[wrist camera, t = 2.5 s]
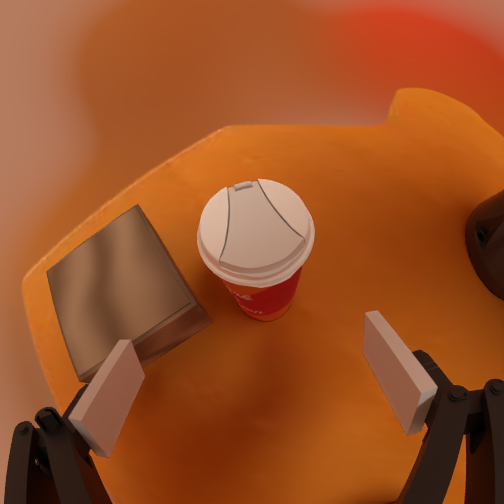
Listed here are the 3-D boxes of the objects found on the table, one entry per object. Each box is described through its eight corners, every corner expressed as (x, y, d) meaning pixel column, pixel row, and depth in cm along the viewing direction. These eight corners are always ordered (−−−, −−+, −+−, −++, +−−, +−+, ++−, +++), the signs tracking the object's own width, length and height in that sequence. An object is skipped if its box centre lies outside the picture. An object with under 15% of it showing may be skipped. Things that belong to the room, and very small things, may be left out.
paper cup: (222, 272, 31) (186, 189, 19) (290, 255, 32) (293, 163, 19) (238, 341, 28) (201, 294, 15) (312, 321, 28) (336, 258, 16)
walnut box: (156, 232, 35) (136, 202, 29) (212, 321, 29) (196, 303, 23) (74, 290, 32) (45, 270, 27) (111, 387, 26) (77, 381, 21)
